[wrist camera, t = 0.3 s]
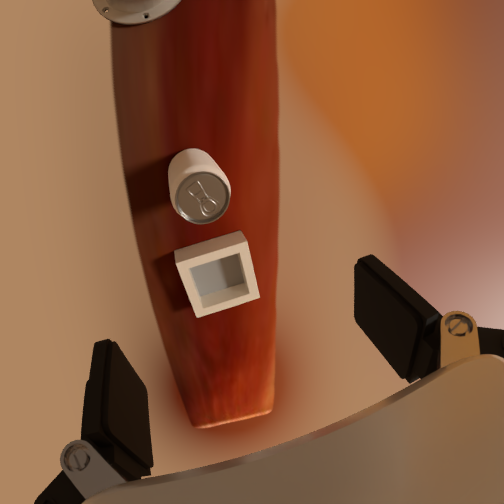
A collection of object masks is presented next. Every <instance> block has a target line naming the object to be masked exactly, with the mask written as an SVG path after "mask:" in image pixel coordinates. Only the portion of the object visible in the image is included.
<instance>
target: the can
mask: <svg viewBox="0 0 504 504" xmlns="http://www.w3.org/2000/svg"><path fill="white" fill-rule="evenodd" d="M168 180H169V190H170V198H171V202H172V205H173V207H174V209H175V210H176V212H177V213H178V214H179V215H180V216H182V217H183V218H184V219H186V220H187V221H189V222H191V223H195V224H207V223H211V222H213V221H215V220H217V219H218V218H220V217H221V216H222V215H223V214H224V212H225V211H226V209H227V207H228V205H229V201H230V194H231V190H230V184H229V181H228V179H227V177H226V176H225V174H224V173H223V171H222V170H221V169H220V168H219V166H218V165H217V164H216V163H215V161H214V160H213V159H212V158H211V157H210V156H209V155H208V154H207V153H206V152H204V151H202V150H199V149H187V150H184V151H181V152H180V153H178V154H177V155H176V156H175V157H174V158H173V159H172V161H171V163H170V165H169V169H168Z"/></svg>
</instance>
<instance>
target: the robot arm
mask: <svg viewBox="0 0 504 504" xmlns="http://www.w3.org/2000/svg"><path fill="white" fill-rule="evenodd" d="M180 1H181V0H93V4H94V6H95V7H96V9H97V11H98V12H99V13H100V14H101V15H102V16H104V17H105V18H106V19H108V20H110V21H112V22H115V23H119V24H125V25H136V24H143V23H147V22H151V21H153V20H156V19H158V18H160V17H162V16H164V15H165V14H167V13H168V12H170V11H171V10H172V9H174V8H175V7H176V5H177V4H178V3H179V2H180ZM106 10H108V12H106V13H105V11H106ZM145 16H148V18H147V19H145V18H144V17H145ZM354 281H355V282H354V288H355V289H354V317H355V320H356V323H357V324H358V325H359V326H360V328H361V329H362V330H363V331H364V333H365V334H366V335H367V336H368V338H369V339H370V340H371V341H372V342H373V344H374V345H375V346H376V348H377V349H378V350H379V351H380V353H381V354H382V355H383V356H384V357H385V359H386V360H387V361H388V363H389V364H390V365H391V366H392V368H393V369H394V370H395V371H396V372H397V374H398V375H399V376H400V378H402V379H404V378H405V379H406V380H407V381H408V382H409V383H412V382H414V381H415V380H417V379H419V378H420V379H421V380H419V381H417V382H415V383H414V384H412V385H410V386H408V387H406V388H405V389H403V390H401V391H399V392H397V393H395V394H393V395H392V396H390V397H388V398H386V399H384V400H382V401H380V402H379V403H376V404H374V405H372V406H370V407H368V408H366V409H364V410H362V411H360V412H358V413H356V414H353V415H351V416H349V417H347V418H345V419H343V420H340V421H338V422H336V423H333V424H331V425H329V426H326V427H324V428H322V429H319V430H317V431H314V432H312V433H309V434H307V435H304V436H301V437H299V438H296V439H293V440H291V441H288V442H285V443H282V444H279V445H277V446H274V447H271V448H268V449H265V450H261V451H258V452H255V453H252V454H249V455H245V456H242V457H238V458H235V459H232V460H228V461H224V462H220V463H217V464H212V465H208V466H204V467H200V468H195V469H191V470H186V471H182V472H177V473H173V474H167V475H162V476H156V477H150V478H145V479H141V477H142V476H149V475H151V471H150V468H152V467H153V455H152V445H151V435H150V423H149V411H148V396H147V395H148V394H147V389H146V387H145V385H144V383H143V382H142V380H141V379H140V378H139V376H138V375H137V373H136V372H135V370H134V369H133V367H132V366H131V364H130V363H129V361H128V360H127V358H126V357H125V355H124V354H123V352H122V351H121V349H120V347H119V346H118V344H117V343H116V342H115V341H114V342H112V341H111V340H110V339H106V340H102V341H99V342H96V343H95V344H94V348H93V355H92V362H91V369H90V376H89V380H88V381H87V383H86V389H85V396H84V406H83V416H82V428H81V440H75V441H72V442H70V443H69V444H67V445H66V446H65V448H64V449H63V451H62V453H61V457H60V463H61V467H62V469H63V470H62V471H61V473H60V474H59V475H58V476H57V477H56V478H55V479H54V480H53V481H52V482H51V483H50V484H49V486H48V487H47V488H46V489H45V490H44V491H43V492H42V493H41V494H40V495H39V496H38V497H37V499H36V500H35V502H34V504H504V330H501V329H491V328H483V327H477V325H476V322H475V320H474V319H473V317H471V316H470V315H469V314H467V313H464V312H460V311H452V312H449V313H447V314H445V315H444V316H442V315H441V314H440V313H439V312H438V311H437V310H436V309H435V308H434V307H433V306H432V305H430V304H429V303H428V302H427V301H426V300H425V299H424V298H423V297H421V296H420V295H419V294H418V293H417V292H416V291H415V290H414V289H413V288H411V287H410V286H409V285H408V284H407V283H406V282H405V281H403V280H402V279H401V278H400V277H399V276H398V275H396V274H395V273H394V272H393V271H392V270H391V269H389V268H388V267H387V266H385V264H383V263H382V262H381V261H380V260H379V259H377V258H376V257H375V256H374V255H371V254H370V255H368V256H365V257H362V258H360V259H358V261H357V264H355V266H354Z"/></svg>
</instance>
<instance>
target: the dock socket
mask: <svg viewBox="0 0 504 504" xmlns="http://www.w3.org/2000/svg"><path fill="white" fill-rule="evenodd" d="M174 254H175V262H176V266H177V268H178V271H179V274H180V276H181V279H182V281H183V284H184V287H185V289H186V292H187V294H188V297H189V299H190V302H191V304H192V307H193V309H194V312H195V314H196V317H197V318H198V317H201V316H204V315H208V314H211V313H214V312H217V311H220V310H223V309H227V308H230V307H233V306H236V305H239V304H242V303H245V302H248V301H251V300H254V299H257V298H260V296H259V291H258V287H257V283H256V278H255V274H254V269H253V265H252V261H251V256H250V252H249V247H248V243H247V240H246V238H245V237H244V235H243V233H242V232H241V230H240V231H236V232H233V233H230V234H226V235H223V236H220V237H217V238H213V239H210V240H207V241H204V242H200V243H197V244H194V245H191V246H188V247H184V248H181V249H178V250H175V251H174Z"/></svg>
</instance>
